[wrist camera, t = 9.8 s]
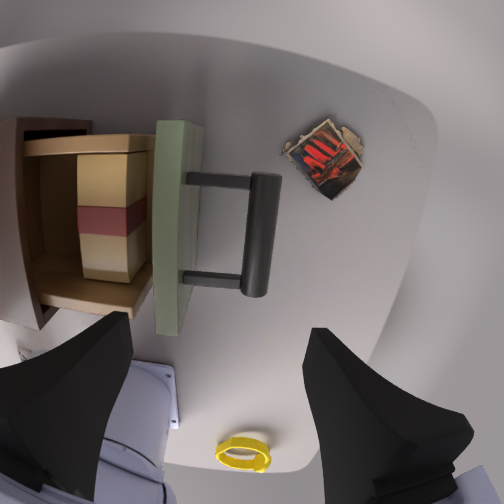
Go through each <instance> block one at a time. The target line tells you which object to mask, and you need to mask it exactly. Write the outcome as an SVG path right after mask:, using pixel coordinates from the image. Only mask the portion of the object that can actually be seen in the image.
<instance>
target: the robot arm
mask: <svg viewBox="0 0 504 504" xmlns="http://www.w3.org/2000/svg"><path fill="white" fill-rule="evenodd" d="M133 353H134V352H133V345H132V339H131V331H130V324H129V316H128V312H121V311H113V312H111V313H109V314H108V315H106V316H105V317H103V318H102V319H100V320H99V321H97V322H96V323H94V324H93V325H91V326H90V327H88V328H87V329H85V330H84V331H82V332H81V333H79V334H78V335H76V336H75V337H73V338H71V339H70V340H68V341H66V342H65V343H63V344H61V345H60V346H58V347H56V348H54V349H52V350H50V351H48V352H46V353H44V354H42V355H40V356H37V357H34V358H32V359H29V360H26V361H24V362H21V363H18V364H15V365H12V366H8V367H4V368H0V504H177V503H176V502H177V501H176V496H175V494H174V492H173V490H172V488H171V486H170V485H169V484H168V483H165V482H163V477H164V471H163V470H162V466H163V460H164V455H165V449H166V444H167V439H168V433H169V428H172V429H178V428H179V416H178V407H177V397H176V386H175V373H174V368H173V367H172V366H169V365H163V364H155V363H149V362H142V361H136V360H132V357H133ZM302 369H303V377H304V384H305V390H306V393H307V397H308V401H309V404H310V408H311V412H312V415H313V419H314V422H315V426H316V430H317V434H318V438H319V444H320V451H321V459H322V467H323V478H324V492H325V504H502V503H501V501H500V499H499V497H498V495H497V492H496V490H495V488H494V487H493V485H492V483H491V481H490V479H489V477H488V475H487V473H486V472H485V470H484V468H483V466H482V465H480V466H478V467H476V468H474V469H472V470H470V471H468V472H465V473H463V474H461V475H460V476H458V477H457V478H455V479H454V478H453V475H452V473H453V472H454V471H455V467H454V465H453V461H454V460H455V459H456V458H457V457H458V456H459V455H460V454H461V453H462V452H463V451H464V450H465V448H466V447H467V446H468V445H469V444H470V442H471V440H472V438H473V436H474V430H473V428H472V427H471V425H470V424H469V422H468V420H467V419H466V417H465V416H464V415H463V414H461V413H458V412H454V411H451V410H447V409H444V408H441V407H438V406H436V405H433V404H431V403H428V402H426V401H424V400H421V399H419V398H417V397H415V396H413V395H411V394H409V393H408V392H406V391H403V390H402V389H400V388H398V387H397V386H395V385H393V384H392V383H391V382H389V381H388V380H386V379H385V378H383V377H382V376H381V375H379V374H378V373H376V372H375V371H374V370H373V369H371V368H370V367H369V366H368V365H367V364H365V363H364V362H363V361H362V360H361V359H360V358H358V357H357V356H356V355H355V354H354V353H353V352H352V351H351V350H350V349H349V348H348V347H347V346H345V345H344V344H343V343H342V342H341V341H340V340H339V339H338V338H337V337H336V336H335V335H334V334H333V333H332V332H331V331H330V330H329V329H327V328H312V330H311V334H310V338H309V342H308V346H307V350H306V354H305V358H304V362H303V365H302ZM168 374H170V375H168Z"/></svg>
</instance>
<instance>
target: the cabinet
mask: <svg viewBox="0 0 504 504" xmlns="http://www.w3.org/2000/svg"><path fill="white" fill-rule="evenodd" d="M91 131H92V120H83V119H67V118H44V117H15V118H10V119H6V120H1V121H0V320H3V321H7V322H10V323H13V324H17V325H20V326H23V327H27V328H31V329H34V330H38V331H40V330H41V329H42V328H43V327H44V326H45V324H46V323H47V322H48V321H49V320H50V319H51V318H52V317H53V315H54V314H55V313H56V312H57V311H58V310H59V309H60V307H55V306H50V305H45V304H40V303H39V298H38V294H37V289H36V285H35V280H34V274H33V269H32V263H31V257H30V251H29V244H28V236H27V227H26V217H25V205H24V187H23V141H30V140H38V139H47V138H57V137H69V136H83V135H91Z"/></svg>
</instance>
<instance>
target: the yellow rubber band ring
mask: <svg viewBox="0 0 504 504" xmlns="http://www.w3.org/2000/svg"><path fill="white" fill-rule="evenodd" d="M230 448H246V449H251V450H255V451H257V452H259V453H258V454H257V455H256V456H255V458H254V459H253V460H241V459H235V458H232V457H230V456H227V455H225V454H224V453H223V452H225V451H227V450H228V449H230ZM215 454H216V458H217V460H218V461H220V462H221V463H222V464H224V465H226V466H229V467H232V468H235V469H243V470H245V469H246V470H249V469H253V470H254V471H256V472H259V473H262V472H264V471H266V470H267V469H268V467H269V466H270V464H271V456H270V450H269V448H268V447H267V445H266V444H264V443H262V442H260V441H258V440H256V439H251V438H246V437H232V438H230V439H229V440H227V441H225V442H223V443H221V444H218V446H217V448H216V453H215Z"/></svg>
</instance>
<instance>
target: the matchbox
mask: <svg viewBox="0 0 504 504" xmlns="http://www.w3.org/2000/svg"><path fill="white" fill-rule="evenodd" d="M341 130H342V131H344V133H343V135H342V134H341V132H339V131H338V130H336V128H335V127H334V124H333V123H332V122H331V121H330V119H327V120H326V121H323V124H320V125H319V127H316V128H315V129H313V131H312V132H311V133H310V134H308V135H305V136H304V135H301V136H300V137H301V138H302V139H301V140H300V141H299V142H298V144H297V145H295V146H294V147H292V148H290V147H291V146H292V145H291V144H293V141H292V142H288V143H287V144H286V146H285V147H284V149H283V150H282V152H286V151H287V150H289V149H290V151H288V152H287V155H288V158H289V161H291V162H293V163H294V165H296V166H297V169H298V170H299V171H301V172H302V173H303V175H304V176H305V177H307V180H309V181H310V183H311V184H312V187H313V188H315V190H317V191H318V192H320V193H321V194H323V195H324V196H326V197H327V198H329V199H330V200H333V199H334V198H337V197H338V196H339V195H341V193H343V192H344V191H345V189H347V188H348V187H349V186H350V185H351V184H352V183H353V181H354V180H355V178H356V176H357V175H358V173H359V171H360V170H361V168H362V167H363V165H362V164H361V162H360V161H359V159H358V158H357V155H355V153H353V150H354V151H355V152H357V153H358V154H359V156H358V157H360V156H361V154H362V152H363V149H364V146H362V145H360V142H362V140H360V139H359V137H356V135H355V134H353V133H352V132H351V131H349V130H348V129H347V128H345V127H342V129H341ZM341 135H342V136H343V137H341ZM347 143H348V144H349V145H350V146H351V147H352V149H351V148H350V146H349V145H348V144H347ZM282 152H281V153H282ZM281 155H283V153H282V154H281ZM305 179H306V178H305Z"/></svg>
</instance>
